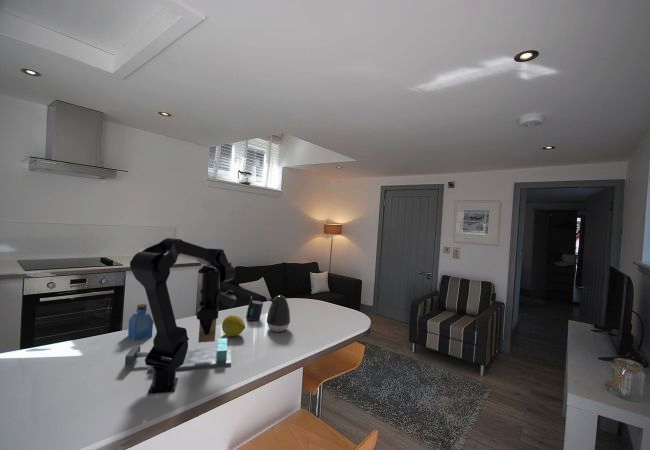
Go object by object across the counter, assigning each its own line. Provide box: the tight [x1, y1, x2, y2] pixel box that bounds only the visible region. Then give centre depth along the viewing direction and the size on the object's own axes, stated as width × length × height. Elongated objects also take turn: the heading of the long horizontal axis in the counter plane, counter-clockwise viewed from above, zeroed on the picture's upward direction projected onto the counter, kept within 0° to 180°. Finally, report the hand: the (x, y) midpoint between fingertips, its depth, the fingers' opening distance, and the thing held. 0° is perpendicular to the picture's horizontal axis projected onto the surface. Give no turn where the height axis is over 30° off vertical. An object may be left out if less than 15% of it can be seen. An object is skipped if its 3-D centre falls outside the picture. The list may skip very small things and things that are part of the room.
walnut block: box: [197, 319, 217, 343], centre depth 100 cm, size 5×5×8 cm
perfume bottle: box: [127, 303, 154, 342], centre depth 114 cm, size 6×6×12 cm
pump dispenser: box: [266, 294, 291, 333], centre depth 131 cm, size 10×10×15 cm
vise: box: [147, 337, 232, 374], centre depth 99 cm, size 24×12×5 cm, turn 108°
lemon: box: [221, 314, 246, 337], centre depth 121 cm, size 11×8×8 cm
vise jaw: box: [124, 344, 168, 367], centre depth 95 cm, size 11×10×4 cm
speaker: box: [245, 296, 264, 322], centre depth 141 cm, size 8×6×10 cm
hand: (207, 331), depth 100 cm, fingers closed on walnut block, 5 cm apart
